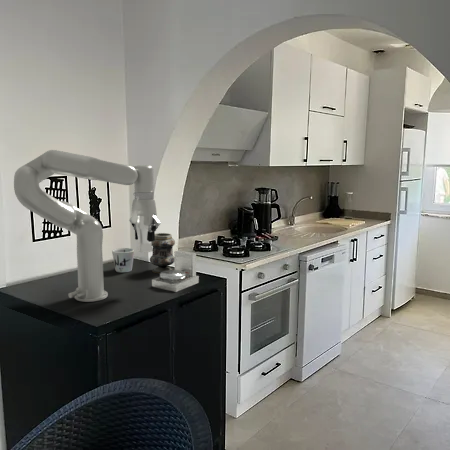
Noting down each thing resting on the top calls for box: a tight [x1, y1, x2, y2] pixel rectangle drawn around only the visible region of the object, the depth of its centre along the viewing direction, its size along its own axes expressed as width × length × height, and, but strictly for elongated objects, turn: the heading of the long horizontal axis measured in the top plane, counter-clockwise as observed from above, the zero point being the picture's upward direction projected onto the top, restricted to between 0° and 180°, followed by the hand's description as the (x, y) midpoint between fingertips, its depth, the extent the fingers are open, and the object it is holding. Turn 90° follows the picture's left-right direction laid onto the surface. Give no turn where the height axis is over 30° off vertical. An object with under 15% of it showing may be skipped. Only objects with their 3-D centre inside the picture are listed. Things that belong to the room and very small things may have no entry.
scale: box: [151, 250, 200, 293], centre depth 199 cm, size 16×13×13 cm
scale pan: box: [159, 269, 186, 280], centre depth 198 cm, size 12×11×1 cm
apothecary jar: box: [149, 232, 176, 274], centre depth 220 cm, size 12×12×18 cm
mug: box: [111, 247, 135, 273], centre depth 223 cm, size 10×15×10 cm
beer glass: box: [136, 215, 153, 254], centre depth 187 cm, size 7×7×15 cm
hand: (144, 239), depth 187 cm, fingers closed on beer glass, 6 cm apart
